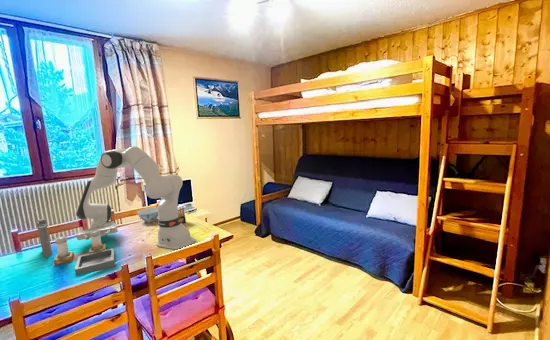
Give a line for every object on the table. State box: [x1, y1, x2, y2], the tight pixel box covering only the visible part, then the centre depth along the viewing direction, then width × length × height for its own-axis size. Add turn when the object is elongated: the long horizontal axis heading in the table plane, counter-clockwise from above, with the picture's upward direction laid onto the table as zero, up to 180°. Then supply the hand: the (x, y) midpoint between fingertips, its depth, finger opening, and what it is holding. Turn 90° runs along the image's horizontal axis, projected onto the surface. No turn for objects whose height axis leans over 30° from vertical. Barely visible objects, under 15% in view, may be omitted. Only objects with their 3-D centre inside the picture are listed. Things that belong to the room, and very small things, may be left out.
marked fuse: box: [90, 230, 103, 251], centre depth 153 cm, size 5×5×12 cm
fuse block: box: [51, 243, 109, 267], centre depth 151 cm, size 24×10×4 cm, turn 119°
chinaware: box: [137, 207, 159, 223], centre depth 204 cm, size 15×15×8 cm
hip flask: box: [36, 218, 53, 258], centre depth 157 cm, size 16×4×20 cm, turn 44°
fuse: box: [55, 236, 70, 258], centre depth 146 cm, size 5×5×12 cm
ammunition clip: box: [178, 206, 187, 224], centre depth 194 cm, size 11×2×12 cm, turn 122°
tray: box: [74, 248, 116, 275], centre depth 142 cm, size 16×16×4 cm
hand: (97, 236), depth 158 cm, fingers open, 8 cm apart
